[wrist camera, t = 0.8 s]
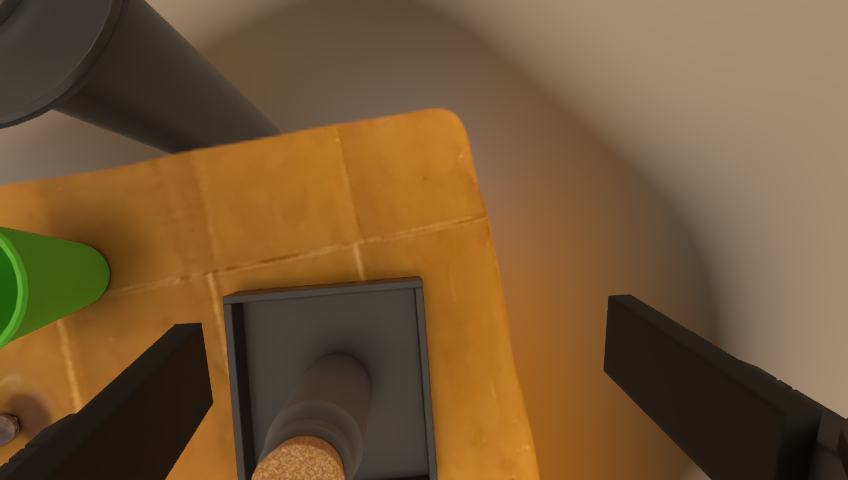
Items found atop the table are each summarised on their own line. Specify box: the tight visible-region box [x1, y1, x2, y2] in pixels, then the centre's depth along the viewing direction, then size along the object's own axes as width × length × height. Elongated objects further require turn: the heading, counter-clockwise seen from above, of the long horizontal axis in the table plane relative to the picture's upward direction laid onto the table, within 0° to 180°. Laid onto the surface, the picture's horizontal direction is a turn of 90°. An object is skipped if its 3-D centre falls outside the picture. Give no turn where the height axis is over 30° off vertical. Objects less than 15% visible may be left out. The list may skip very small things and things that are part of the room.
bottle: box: [251, 354, 372, 480], centre depth 29 cm, size 6×6×15 cm
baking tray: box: [223, 276, 438, 480], centre depth 36 cm, size 17×15×3 cm
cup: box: [0, 227, 110, 349], centre depth 30 cm, size 9×9×11 cm
